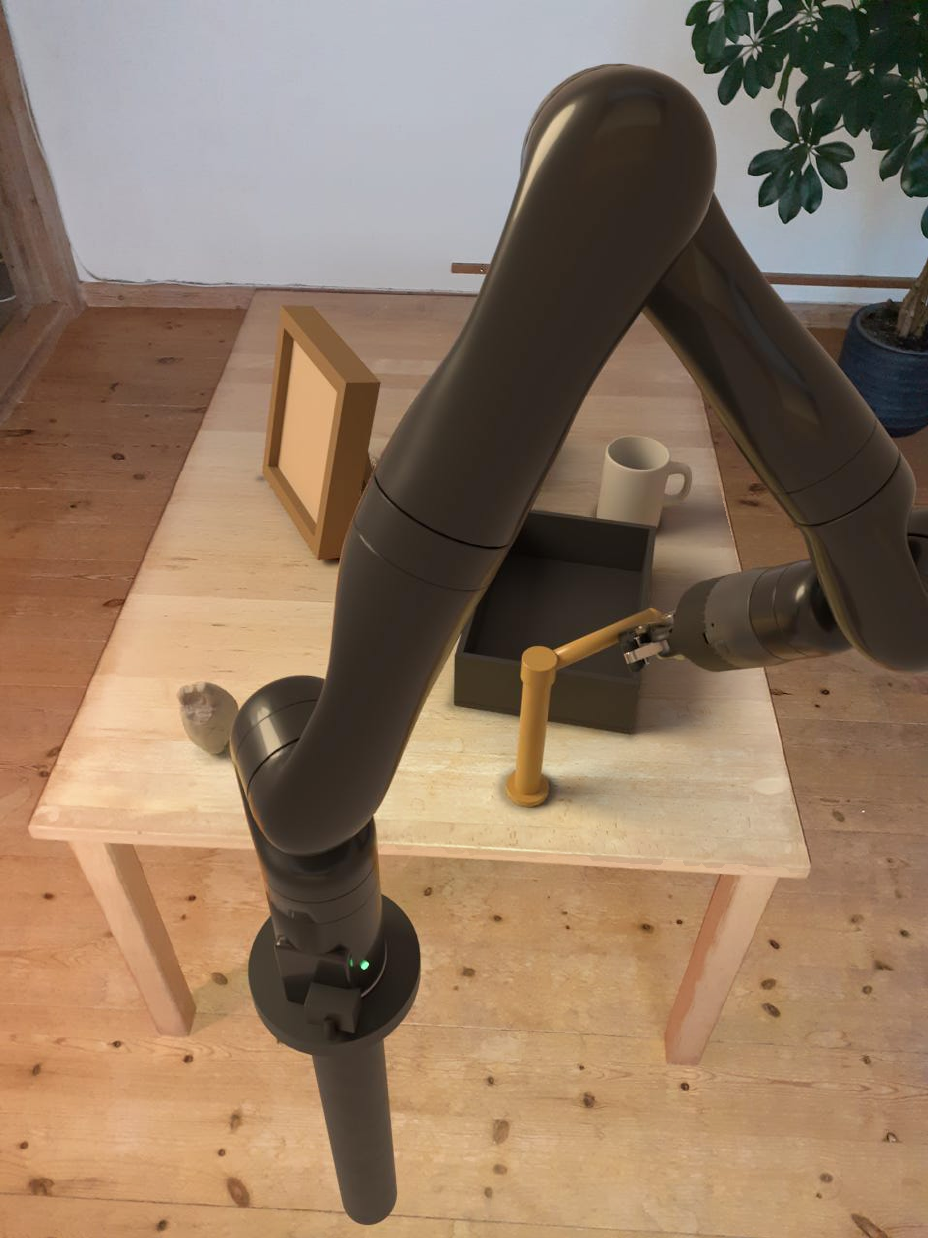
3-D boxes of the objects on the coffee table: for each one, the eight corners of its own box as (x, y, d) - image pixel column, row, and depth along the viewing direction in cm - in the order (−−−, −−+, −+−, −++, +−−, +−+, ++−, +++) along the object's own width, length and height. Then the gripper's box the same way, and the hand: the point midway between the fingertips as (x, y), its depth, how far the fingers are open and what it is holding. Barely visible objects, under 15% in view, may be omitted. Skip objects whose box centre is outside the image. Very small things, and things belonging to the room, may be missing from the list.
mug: (600, 539, 131) (609, 471, 124) (592, 501, 138) (601, 434, 130) (689, 539, 132) (704, 471, 124) (677, 502, 138) (691, 434, 130)
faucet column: (545, 810, 99) (558, 699, 88) (502, 802, 100) (510, 691, 88) (551, 776, 102) (564, 665, 91) (509, 769, 103) (518, 657, 92)
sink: (630, 734, 107) (640, 685, 101) (453, 705, 109) (454, 656, 104) (647, 574, 126) (656, 525, 121) (497, 552, 129) (500, 504, 124)
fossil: (242, 727, 106) (228, 663, 100) (248, 751, 104) (235, 686, 97) (188, 742, 105) (170, 677, 98) (193, 766, 102) (176, 701, 96)
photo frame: (318, 566, 126) (299, 393, 109) (262, 478, 140) (238, 313, 123) (422, 534, 132) (419, 365, 115) (358, 453, 146) (347, 291, 129)
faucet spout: (531, 711, 89) (535, 675, 86) (512, 689, 91) (515, 653, 88) (666, 648, 96) (674, 613, 92) (645, 629, 98) (652, 593, 94)
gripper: (790, 546, 78) (666, 579, 94) (664, 605, 73) (555, 630, 89) (825, 633, 78) (695, 651, 94) (701, 698, 73) (586, 706, 89)
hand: (627, 641), depth 92 cm, fingers closed
